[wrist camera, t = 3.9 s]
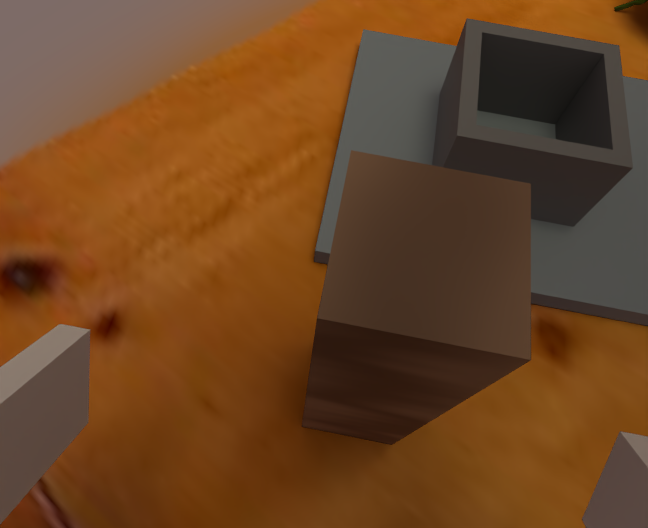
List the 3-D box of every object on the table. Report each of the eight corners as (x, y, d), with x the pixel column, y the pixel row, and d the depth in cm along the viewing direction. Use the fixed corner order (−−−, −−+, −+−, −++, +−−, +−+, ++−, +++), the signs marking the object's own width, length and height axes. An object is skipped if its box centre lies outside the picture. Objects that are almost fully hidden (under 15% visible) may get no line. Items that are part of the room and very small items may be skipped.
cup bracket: (637, 95, 32) (711, 8, 26) (668, 329, 25) (777, 278, 19) (360, 45, 32) (375, -51, 27) (313, 261, 25) (320, 192, 20)
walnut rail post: (402, 356, 24) (530, 184, 11) (391, 444, 22) (531, 359, 9) (318, 339, 24) (351, 150, 11) (301, 426, 22) (317, 317, 9)
